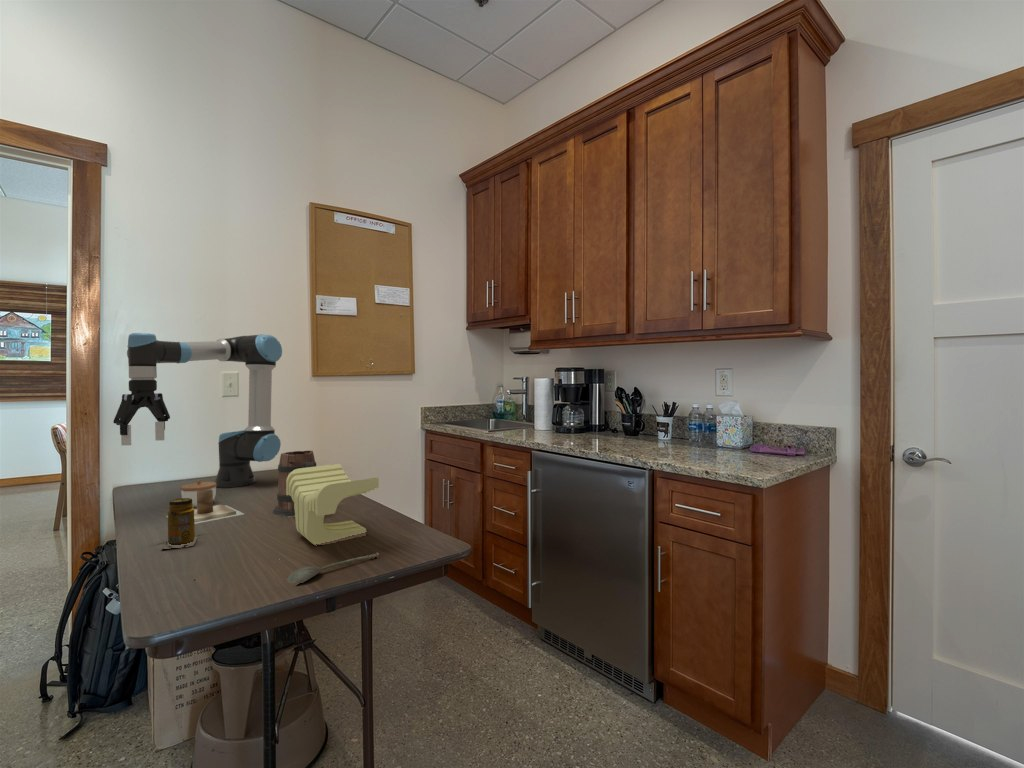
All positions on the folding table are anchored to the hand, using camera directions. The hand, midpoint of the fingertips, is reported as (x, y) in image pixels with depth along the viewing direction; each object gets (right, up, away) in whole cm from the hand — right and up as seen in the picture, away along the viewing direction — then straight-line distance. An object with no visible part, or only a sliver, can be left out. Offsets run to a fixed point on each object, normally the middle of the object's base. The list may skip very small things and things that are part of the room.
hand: (143, 442), depth 163 cm
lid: (+23, -23, -3) cm, 33 cm away
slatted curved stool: (+72, -24, -26) cm, 80 cm away
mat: (+23, -24, -3) cm, 33 cm away
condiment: (+33, -24, -30) cm, 51 cm away
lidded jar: (+11, -24, +11) cm, 29 cm away
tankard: (+53, -24, 0) cm, 58 cm away
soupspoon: (+82, -24, -51) cm, 100 cm away
